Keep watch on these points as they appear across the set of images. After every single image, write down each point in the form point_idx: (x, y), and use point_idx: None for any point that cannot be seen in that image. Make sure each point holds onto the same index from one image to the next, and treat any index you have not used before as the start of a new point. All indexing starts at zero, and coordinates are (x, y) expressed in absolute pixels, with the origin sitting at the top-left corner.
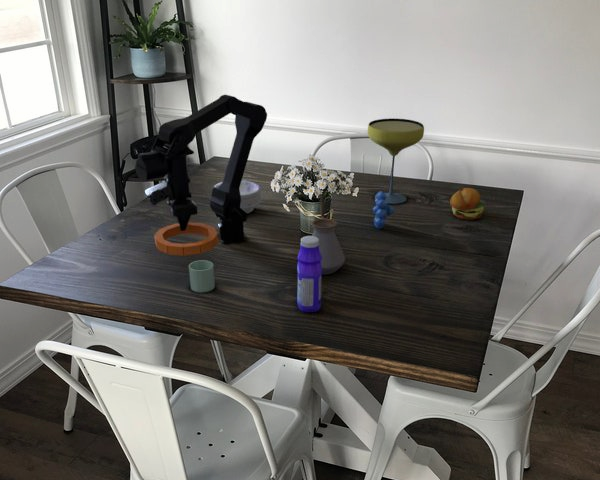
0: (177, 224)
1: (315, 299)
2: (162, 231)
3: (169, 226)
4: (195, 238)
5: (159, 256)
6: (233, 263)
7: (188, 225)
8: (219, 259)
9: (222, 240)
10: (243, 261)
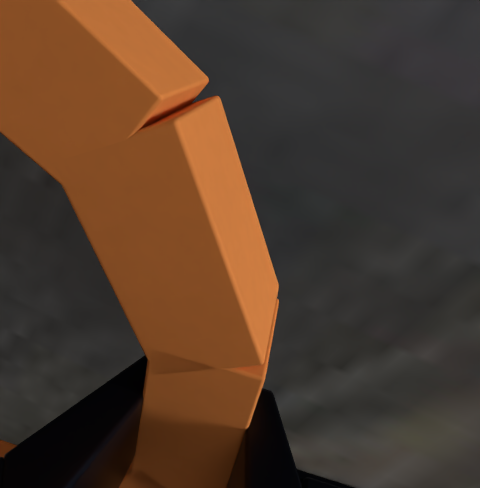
0: (212, 401)
1: None
2: (11, 78)
3: (196, 283)
4: (469, 402)
5: (348, 46)
6: (28, 376)
7: (132, 467)
8: (97, 353)
9: (304, 476)
10: (35, 414)
